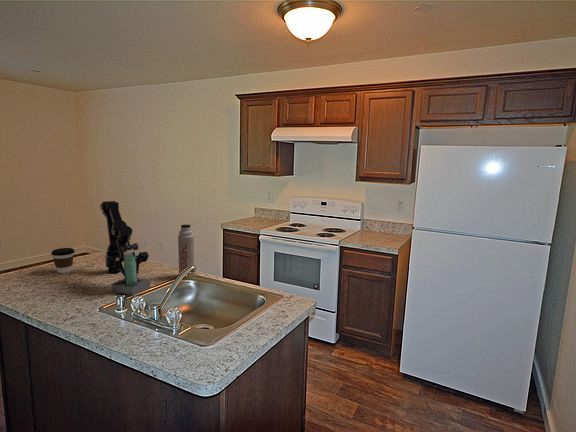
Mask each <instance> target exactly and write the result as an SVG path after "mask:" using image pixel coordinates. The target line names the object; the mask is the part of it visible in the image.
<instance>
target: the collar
mask: <svg viewBox="0 0 576 432" xmlns="http://www.w3.org/2000/svg"><path fill="white" fill-rule="evenodd" d="M150 288H151V279H148V278H143V277H137V283H136V284H133V285H127V284H125V278H122V279H120V280H118V281H116V282H114V283H111V293H113V294H118V295H120V294H119V293H122V294H121V295H124V294H126V295H125V296H130V297H131V296H132V297H133V295H134V296H136V295H138V294H140V293H142V292H144V291H145V290H146V291H147V289H150ZM141 291H142V292H141ZM139 292H140V293H139ZM137 293H138V294H137ZM135 294H136V295H135Z"/></svg>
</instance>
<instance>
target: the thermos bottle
mask: <svg viewBox="0 0 576 432" xmlns="http://www.w3.org/2000/svg"><path fill="white" fill-rule="evenodd" d="M194 239H195V238H194V234H193V231H192V230H191V224H181V225H180V230H179V232H178V235H177V244H178V245H177V247H178V248H177V249H178V250H177V252H178V275H179V274H180V273H181V272H182V271H183V270H184V269H186V268H187V267H189V266H194V267H195V244H194V242H195V240H194ZM193 275H194V276H195V271H194V272H191V273H189V274H188V275H187V276H186V277H188V276H193Z"/></svg>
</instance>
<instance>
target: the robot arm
mask: <svg viewBox="0 0 576 432" xmlns="http://www.w3.org/2000/svg"><path fill="white" fill-rule="evenodd" d="M99 207H100V210H101V212H102V213H101V214H102V215H103V216H104V217H105V219H106V225H107V235H108V241H109V242H108V243H109V244H108V246H107V249H106V251H105V256H104V258H105V268H107V269H108V270H106V273H109V274H119V273H120V274H122V275H123V276H125V271H124V264H123V263H124V258H123V252H126V251H127V247H130V246H131V248H132V249H133V250H134V251H137V250H139V244H138V242H133V244H131V242H130V240H131V239H132V235H133V228H132V227H131V226H129V225H128V224H127V223H126V221H124V220H123V218H122V215H121V213H120V210H119V209H120V203H119V202H118V201H115V200H106V201H105V200H104V201H102V202H101V203H100V206H99ZM149 256H150V255H149V252H147V251H141V252H139V253H138V255H137V254H136V267H137V275H138V274H139V272H140V271H139V269H140V264H142V263H145V262H147V261H148V260H149ZM122 262H123V263H122Z"/></svg>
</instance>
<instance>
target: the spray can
mask: <svg viewBox="0 0 576 432" xmlns="http://www.w3.org/2000/svg"><path fill="white" fill-rule="evenodd" d="M136 251H137V250H135V251H134V250H133V249H132V248H131V246H130V247H127V251H126V252H123V258H124V262H123V268H124V271H125V276H124V275H123V276H124V278H123V279H125V284H127V285H133V284H136V283H137V278H138V274H137V267H136V256H137V252H136Z"/></svg>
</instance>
